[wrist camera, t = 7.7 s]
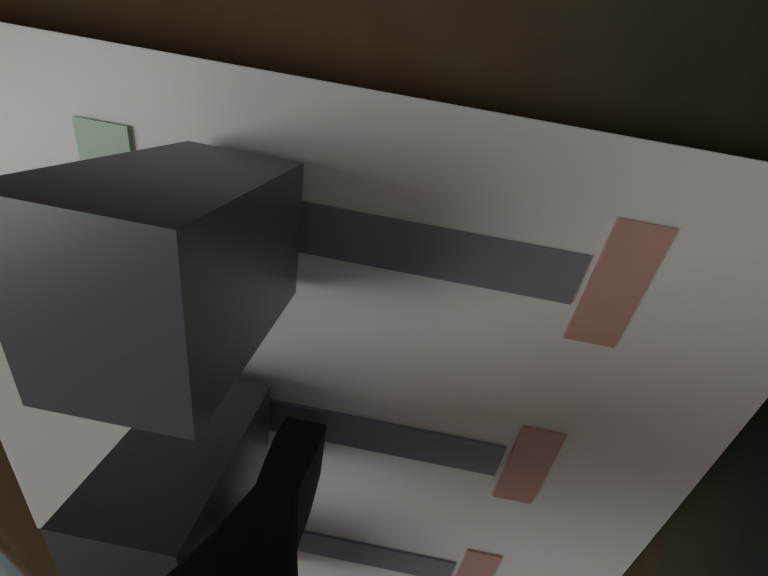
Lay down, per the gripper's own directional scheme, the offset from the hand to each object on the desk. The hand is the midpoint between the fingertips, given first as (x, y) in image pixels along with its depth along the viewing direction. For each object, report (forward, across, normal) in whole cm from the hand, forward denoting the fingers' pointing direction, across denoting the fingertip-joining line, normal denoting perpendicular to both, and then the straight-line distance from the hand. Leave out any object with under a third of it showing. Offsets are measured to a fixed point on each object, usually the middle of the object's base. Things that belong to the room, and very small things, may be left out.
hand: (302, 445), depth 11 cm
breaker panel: (+3, 0, 0) cm, 3 cm away
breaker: (+1, +2, -6) cm, 6 cm away
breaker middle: (+1, +2, 0) cm, 2 cm away
